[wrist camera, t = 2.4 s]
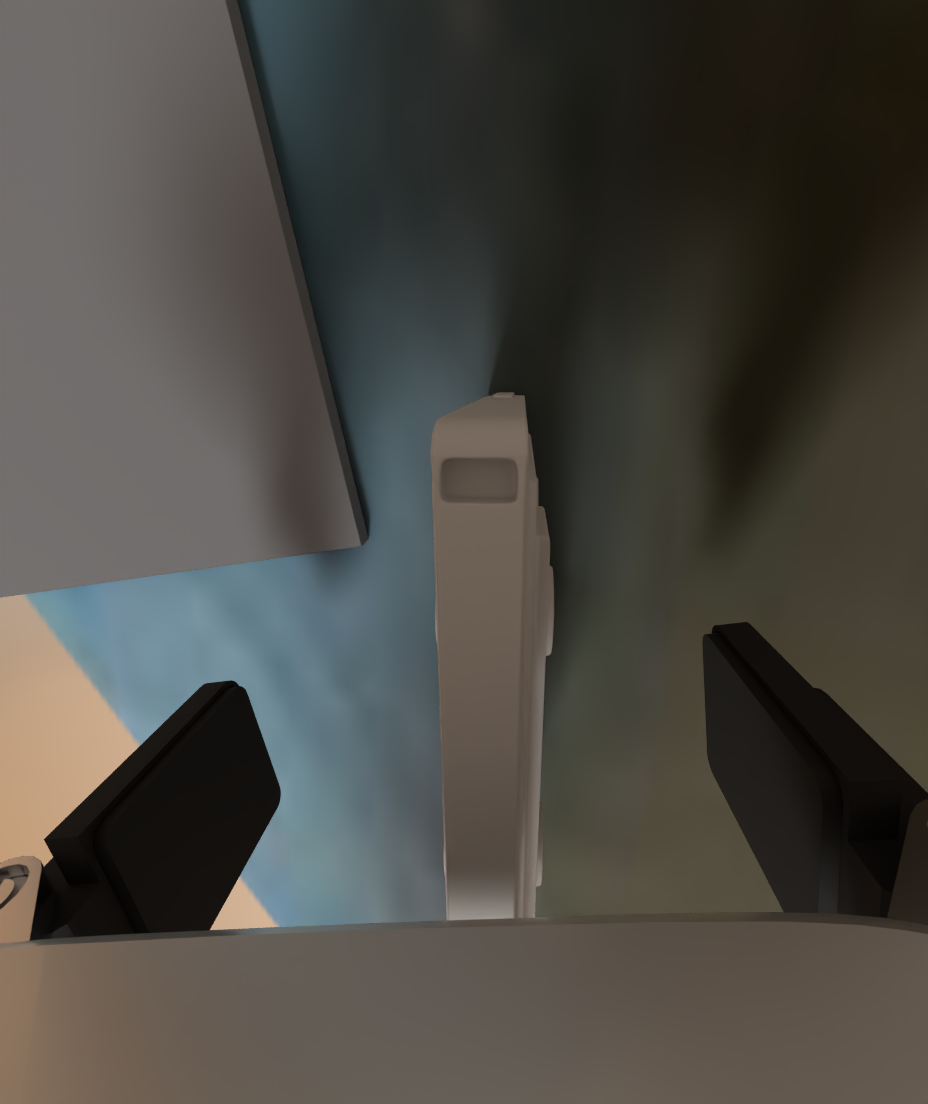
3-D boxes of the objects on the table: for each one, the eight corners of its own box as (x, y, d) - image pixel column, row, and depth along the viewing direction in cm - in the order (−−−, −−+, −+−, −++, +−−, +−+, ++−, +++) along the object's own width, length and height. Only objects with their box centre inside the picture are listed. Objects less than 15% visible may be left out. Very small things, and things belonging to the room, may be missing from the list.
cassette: (465, 392, 12) (372, 413, 4) (547, 391, 12) (588, 411, 4) (470, 804, 16) (425, 1173, 8) (532, 809, 15) (540, 1192, 8)
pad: (219, -76, 9) (199, -105, 9) (368, 539, 13) (361, 546, 12) (-268, 101, 11) (-310, 87, 11) (-22, 595, 15) (-43, 603, 14)
